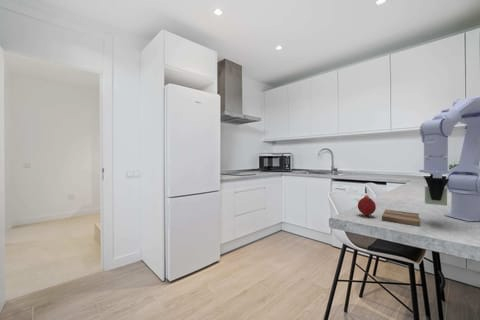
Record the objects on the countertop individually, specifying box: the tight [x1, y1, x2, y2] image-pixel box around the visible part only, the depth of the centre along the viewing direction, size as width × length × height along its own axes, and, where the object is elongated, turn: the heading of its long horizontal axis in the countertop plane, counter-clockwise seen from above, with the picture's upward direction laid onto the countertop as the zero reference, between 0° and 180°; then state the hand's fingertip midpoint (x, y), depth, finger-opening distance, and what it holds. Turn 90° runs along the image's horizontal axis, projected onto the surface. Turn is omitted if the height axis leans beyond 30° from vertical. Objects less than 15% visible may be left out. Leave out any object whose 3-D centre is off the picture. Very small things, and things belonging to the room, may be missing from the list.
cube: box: [424, 185, 448, 206], centre depth 69 cm, size 5×5×5 cm
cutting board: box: [381, 209, 420, 227], centre depth 76 cm, size 12×10×2 cm
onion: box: [357, 194, 377, 217], centre depth 80 cm, size 6×6×8 cm
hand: (435, 198), depth 69 cm, fingers closed on cube, 5 cm apart
